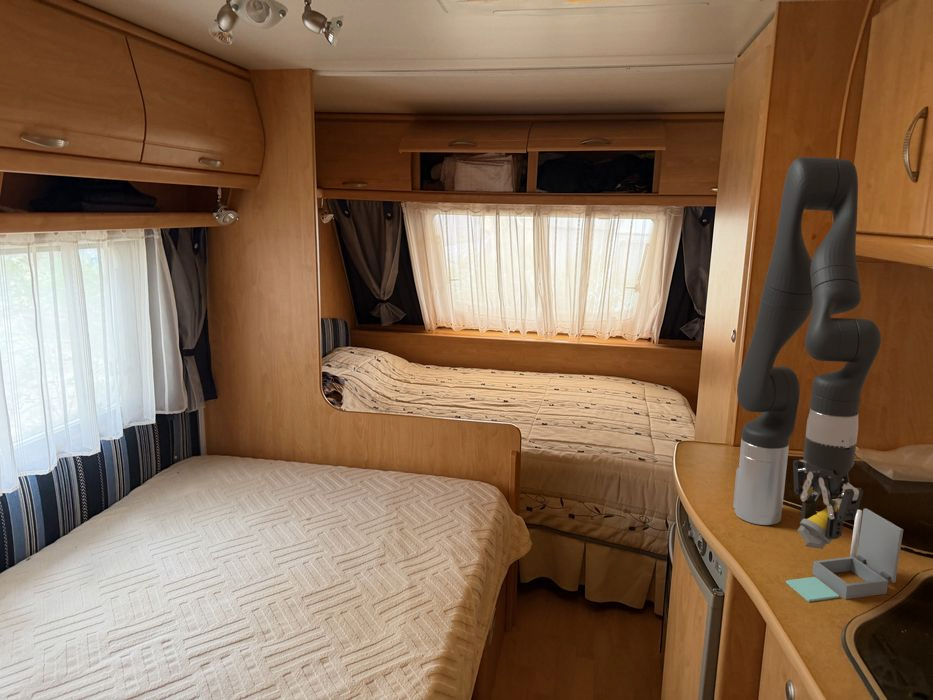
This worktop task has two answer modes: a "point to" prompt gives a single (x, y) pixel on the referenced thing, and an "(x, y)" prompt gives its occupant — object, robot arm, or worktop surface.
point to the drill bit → (815, 529)
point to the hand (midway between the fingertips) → (820, 529)
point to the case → (865, 558)
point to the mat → (812, 589)
